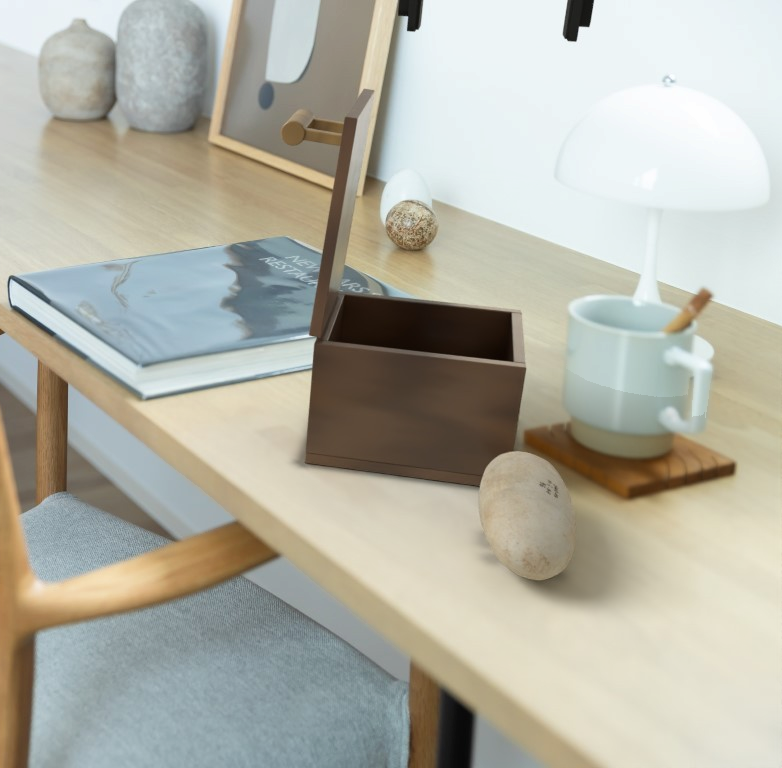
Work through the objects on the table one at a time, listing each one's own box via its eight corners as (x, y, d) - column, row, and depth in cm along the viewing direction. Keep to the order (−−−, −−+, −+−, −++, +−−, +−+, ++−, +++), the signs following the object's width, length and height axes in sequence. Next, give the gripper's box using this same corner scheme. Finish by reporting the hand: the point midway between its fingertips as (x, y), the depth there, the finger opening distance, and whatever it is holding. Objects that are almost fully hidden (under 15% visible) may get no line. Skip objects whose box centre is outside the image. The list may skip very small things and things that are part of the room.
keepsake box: (505, 419, 88) (522, 309, 85) (507, 490, 78) (526, 367, 74) (326, 397, 91) (335, 290, 87) (304, 463, 80) (314, 343, 77)
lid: (375, 90, 81) (304, 78, 82) (357, 118, 71) (277, 105, 71) (341, 285, 87) (275, 273, 88) (320, 338, 77) (246, 323, 77)
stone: (559, 462, 76) (627, 502, 64) (520, 550, 76) (581, 606, 64) (477, 429, 75) (531, 463, 64) (439, 518, 76) (484, 569, 64)
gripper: (372, -287, 65) (346, 32, 72) (699, -283, 62) (640, 50, 69) (383, -270, 72) (359, 20, 79) (679, -265, 69) (627, 36, 75)
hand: (490, 34), depth 74 cm, fingers open, 9 cm apart
